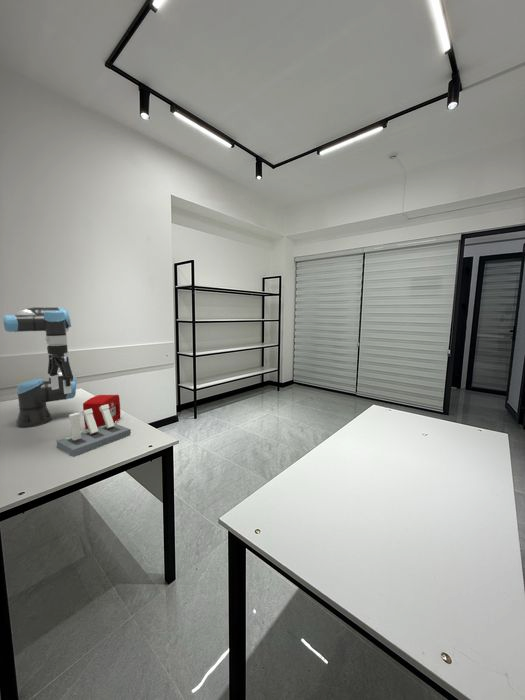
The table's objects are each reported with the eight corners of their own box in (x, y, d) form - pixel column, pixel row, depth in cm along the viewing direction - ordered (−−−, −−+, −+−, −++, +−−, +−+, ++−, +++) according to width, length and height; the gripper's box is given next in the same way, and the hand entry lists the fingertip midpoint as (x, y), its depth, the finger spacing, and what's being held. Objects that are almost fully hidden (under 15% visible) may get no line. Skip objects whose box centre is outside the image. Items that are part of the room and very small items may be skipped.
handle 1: (89, 434, 136) (81, 412, 138) (97, 432, 139) (89, 409, 141) (91, 433, 135) (83, 410, 137) (99, 430, 138) (91, 408, 140)
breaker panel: (56, 446, 131) (56, 440, 130) (113, 427, 152) (112, 422, 152) (73, 456, 122) (73, 449, 122) (130, 435, 144) (130, 429, 143)
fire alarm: (105, 429, 150) (103, 401, 148) (84, 429, 150) (82, 401, 148) (121, 418, 166) (119, 393, 164) (102, 418, 166) (100, 393, 164)
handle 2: (106, 429, 143) (98, 407, 145) (113, 426, 146) (106, 405, 148) (108, 427, 141) (100, 405, 143) (115, 425, 144) (108, 404, 146)
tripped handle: (71, 439, 129) (68, 414, 128) (79, 436, 132) (77, 412, 131) (73, 440, 128) (71, 415, 126) (82, 438, 131) (80, 413, 129)
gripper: (36, 343, 135) (40, 389, 138) (60, 347, 122) (64, 397, 125) (54, 342, 141) (58, 385, 144) (79, 345, 128) (83, 393, 131)
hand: (61, 391), depth 134 cm, fingers open, 12 cm apart
